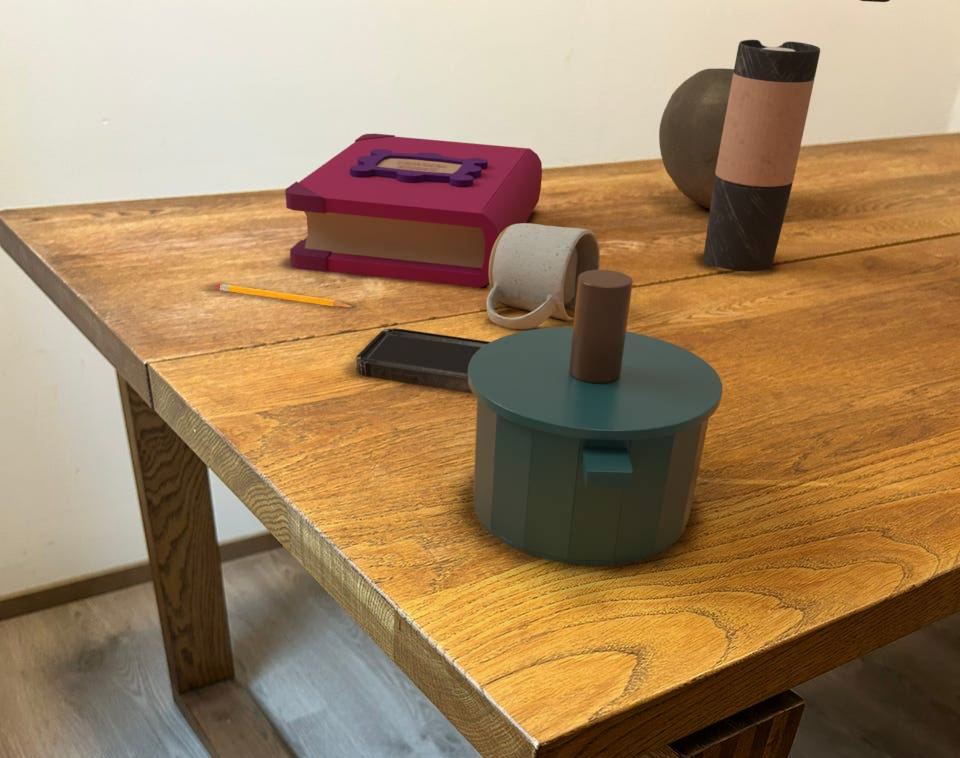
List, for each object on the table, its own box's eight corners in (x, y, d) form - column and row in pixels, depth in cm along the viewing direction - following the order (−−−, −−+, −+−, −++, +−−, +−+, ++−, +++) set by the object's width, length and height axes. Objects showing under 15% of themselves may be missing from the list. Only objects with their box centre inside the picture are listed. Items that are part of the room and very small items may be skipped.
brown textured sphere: (767, 199, 126) (794, 64, 117) (764, 230, 115) (794, 83, 106) (655, 188, 129) (674, 54, 119) (642, 217, 118) (661, 72, 109)
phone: (385, 326, 84) (560, 351, 81) (385, 339, 84) (559, 364, 82) (351, 361, 78) (538, 389, 75) (351, 375, 78) (537, 403, 76)
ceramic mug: (519, 290, 96) (524, 206, 91) (597, 307, 93) (606, 221, 88) (463, 325, 88) (465, 235, 84) (545, 345, 85) (552, 254, 81)
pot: (662, 443, 72) (681, 327, 66) (713, 598, 57) (743, 463, 51) (472, 437, 71) (477, 320, 66) (473, 591, 56) (479, 455, 51)
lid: (694, 348, 65) (713, 242, 61) (743, 455, 53) (770, 332, 49) (467, 340, 65) (470, 233, 60) (466, 446, 53) (471, 322, 49)
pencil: (219, 290, 93) (218, 282, 93) (354, 309, 90) (353, 301, 90) (215, 292, 92) (214, 285, 92) (350, 312, 90) (350, 304, 89)
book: (539, 213, 117) (544, 142, 112) (495, 291, 95) (499, 207, 91) (366, 196, 120) (364, 126, 115) (285, 268, 98) (279, 186, 93)
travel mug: (745, 282, 100) (791, 54, 88) (685, 262, 105) (721, 42, 92) (788, 268, 105) (838, 48, 92) (728, 249, 109) (768, 37, 97)
